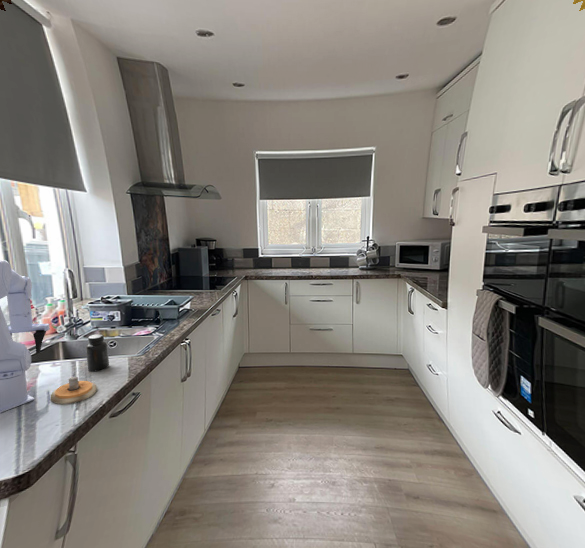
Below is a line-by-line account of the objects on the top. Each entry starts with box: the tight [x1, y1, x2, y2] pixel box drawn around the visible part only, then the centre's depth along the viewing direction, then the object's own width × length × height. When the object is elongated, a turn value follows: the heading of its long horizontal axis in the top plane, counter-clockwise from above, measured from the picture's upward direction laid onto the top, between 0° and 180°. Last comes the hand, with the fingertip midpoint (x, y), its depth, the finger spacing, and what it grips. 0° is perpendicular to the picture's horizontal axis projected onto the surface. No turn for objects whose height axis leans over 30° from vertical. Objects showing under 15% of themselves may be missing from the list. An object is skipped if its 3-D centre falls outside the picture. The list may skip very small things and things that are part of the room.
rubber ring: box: [54, 380, 93, 399], centre depth 106 cm, size 10×10×1 cm
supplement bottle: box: [85, 333, 110, 372], centre depth 124 cm, size 7×7×12 cm
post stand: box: [50, 376, 98, 405], centre depth 106 cm, size 12×12×5 cm
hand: (24, 353), depth 113 cm, fingers open, 7 cm apart
